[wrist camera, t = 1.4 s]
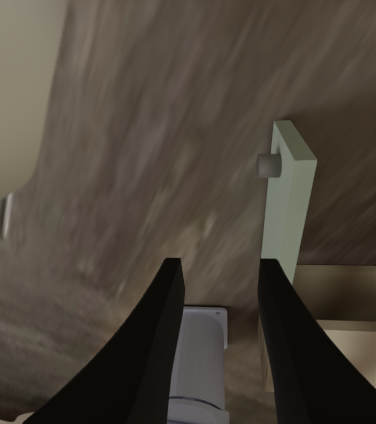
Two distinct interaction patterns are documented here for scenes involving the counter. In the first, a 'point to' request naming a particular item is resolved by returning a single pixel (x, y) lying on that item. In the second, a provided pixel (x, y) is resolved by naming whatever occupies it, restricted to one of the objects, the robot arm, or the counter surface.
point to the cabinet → (337, 313)
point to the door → (286, 194)
